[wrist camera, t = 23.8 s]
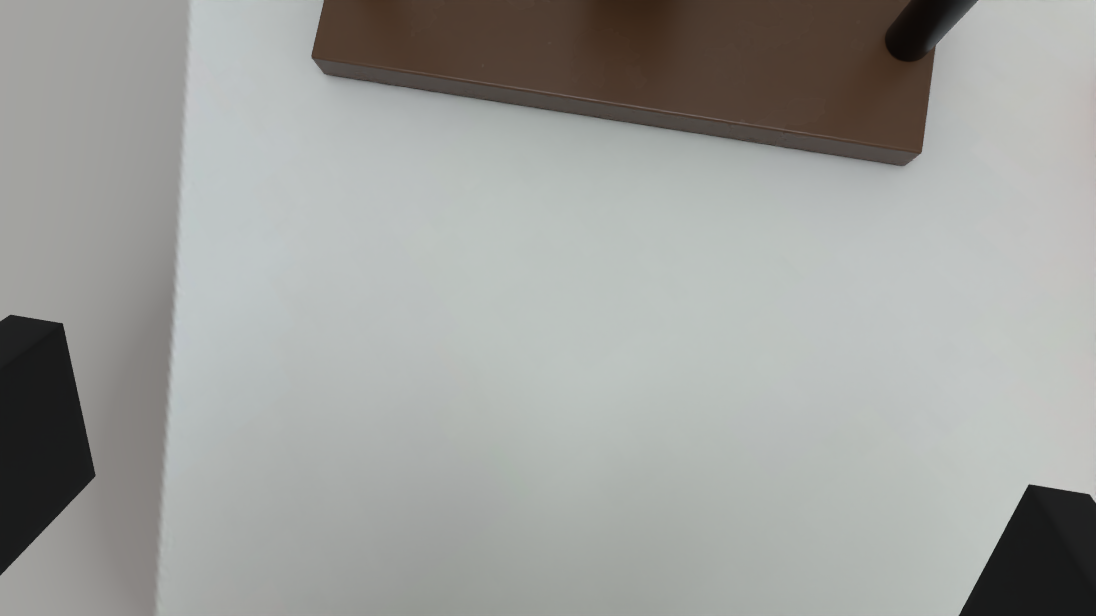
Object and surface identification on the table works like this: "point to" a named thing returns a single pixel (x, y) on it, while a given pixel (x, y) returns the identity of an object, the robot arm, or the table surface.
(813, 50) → the rack
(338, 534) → the table surface
